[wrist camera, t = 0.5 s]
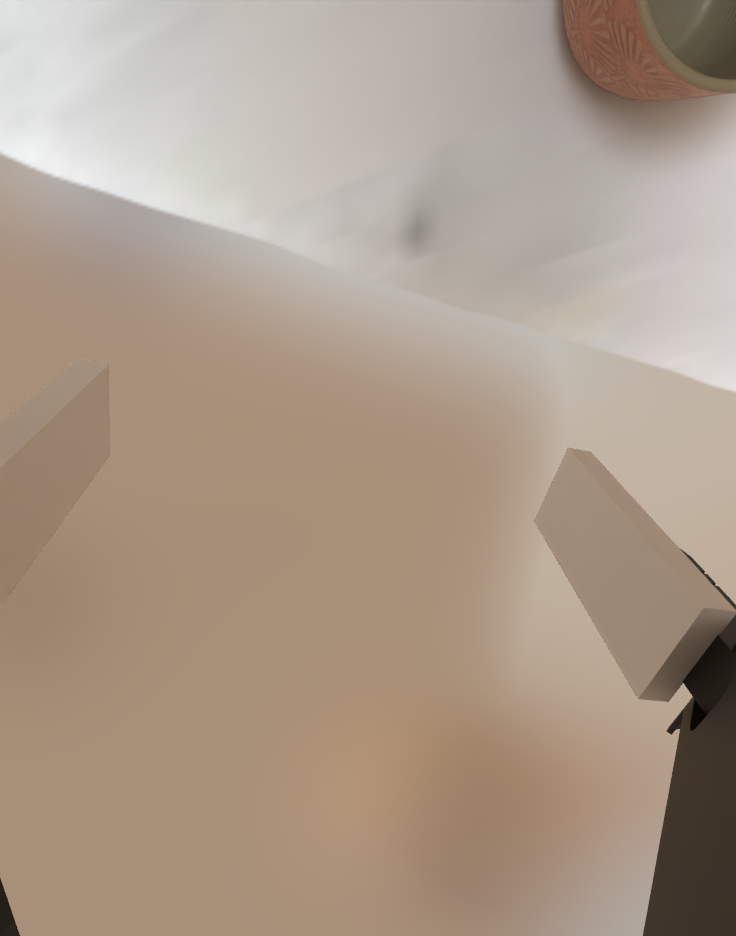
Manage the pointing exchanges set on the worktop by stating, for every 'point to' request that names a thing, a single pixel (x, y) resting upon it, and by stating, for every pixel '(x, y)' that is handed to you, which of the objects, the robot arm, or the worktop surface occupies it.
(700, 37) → the planter
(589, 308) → the worktop surface
